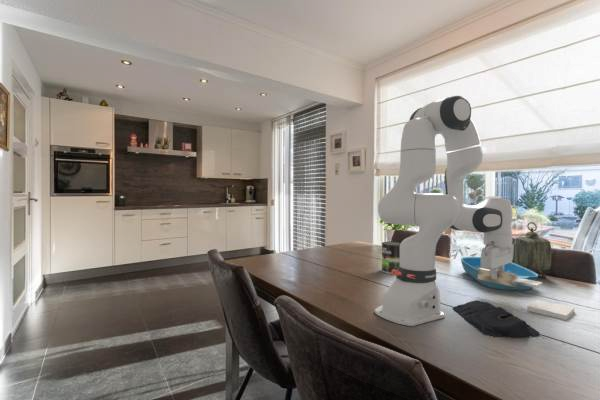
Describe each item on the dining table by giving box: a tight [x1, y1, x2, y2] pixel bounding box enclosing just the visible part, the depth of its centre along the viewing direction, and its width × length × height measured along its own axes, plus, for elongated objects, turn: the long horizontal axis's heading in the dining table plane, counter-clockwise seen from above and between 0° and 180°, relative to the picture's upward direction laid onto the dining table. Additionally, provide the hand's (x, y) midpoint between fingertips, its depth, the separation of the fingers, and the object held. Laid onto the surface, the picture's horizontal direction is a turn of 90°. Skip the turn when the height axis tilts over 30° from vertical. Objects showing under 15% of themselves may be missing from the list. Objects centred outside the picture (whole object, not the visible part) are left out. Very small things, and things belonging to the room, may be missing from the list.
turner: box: [478, 268, 543, 289], centre depth 111 cm, size 19×6×4 cm, turn 37°
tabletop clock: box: [513, 221, 552, 279], centre depth 145 cm, size 14×9×25 cm, turn 171°
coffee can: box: [381, 241, 401, 275], centre depth 152 cm, size 10×10×14 cm
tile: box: [526, 299, 575, 321], centre depth 101 cm, size 2×10×10 cm
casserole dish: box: [460, 256, 539, 291], centre depth 137 cm, size 37×22×7 cm, turn 172°
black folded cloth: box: [452, 299, 540, 339], centre depth 94 cm, size 15×22×5 cm
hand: (496, 277), depth 114 cm, fingers closed on turner, 3 cm apart
